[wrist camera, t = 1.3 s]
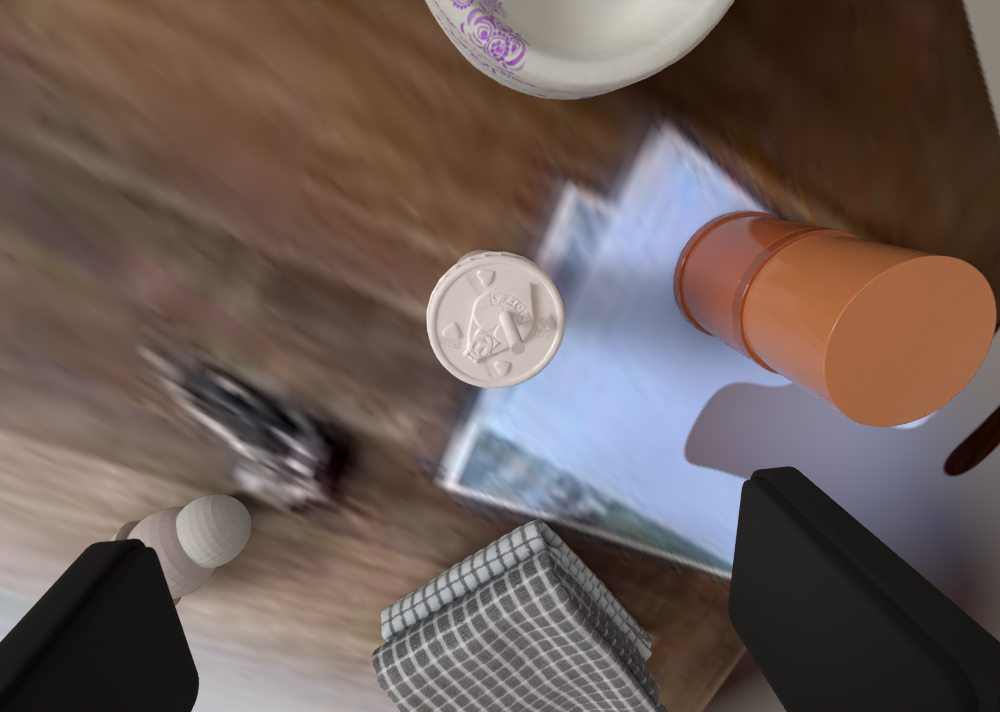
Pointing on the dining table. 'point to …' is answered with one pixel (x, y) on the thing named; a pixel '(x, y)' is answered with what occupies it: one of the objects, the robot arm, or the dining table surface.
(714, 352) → the dining table surface
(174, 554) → the ice cream cone
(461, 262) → the smoothie
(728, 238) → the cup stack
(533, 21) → the paper bowls
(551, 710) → the towel
